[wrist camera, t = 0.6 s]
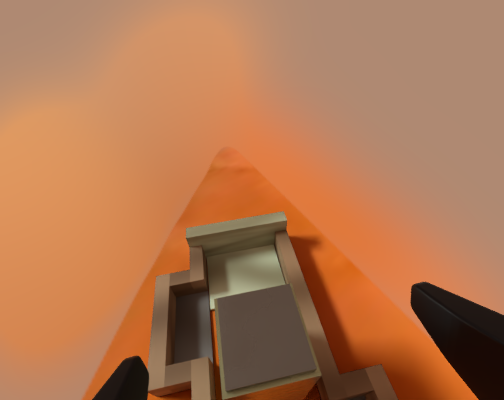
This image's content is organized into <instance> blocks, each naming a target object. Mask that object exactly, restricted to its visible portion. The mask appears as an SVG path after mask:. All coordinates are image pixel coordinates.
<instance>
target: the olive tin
mask: <svg viewBox="0 0 504 400" xmlns="http://www.w3.org/2000/svg"><path fill="white" fill-rule="evenodd" d="M214 305H215V317H216V329H217V341H218V354H219V366H220V378H221V390H222V400H304V398H305V397H306V396H307V394H308V393H309V392H310V390H311V389H312V388H313V386H314V385H315V384H316V382H317V381H318V380H319V378H320V377H321V376H322V375H321V372H320V368H319V365H318V362H317V359H316V356H315V353H314V350H313V347H312V344H311V341H310V338H309V335H308V332H307V328H306V325H305V322H304V319H303V316H302V313H301V310H300V307H299V304H298V301H297V298H296V295H295V292H294V289H293V285H292V283H289V284H284V285H279V286H274V287H270V288H265V289H260V290H255V291H250V292H245V293H240V294H235V295H230V296H226V297H221V298H216V299H214Z"/></svg>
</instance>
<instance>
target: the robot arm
mask: <svg viewBox="0 0 504 400" xmlns="http://www.w3.org/2000/svg"><path fill="white" fill-rule="evenodd" d="M411 307H412V309H413V311H414V312H415V314H416V315H417V317H418V318H419V320H420V321H421V323H422V324H423V326H424V327H425V329H426V330H427V332H428V333H429V335H430V336H431V338H432V339H433V341H434V342H435V344H436V345H437V347H438V348H439V349H440V351H441V352H442V354H443V355H444V357H445V358H446V359H447V361H448V362H449V363H450V364H451V366H452V367H453V368H454V369H455V371H456V372H457V373H458V374H459V376H460V377H461V378H462V379H463V381H464V382H465V383H466V384H467V386H468V387H469V388H470V389H471V391H472V392H473V393H474V394H475V396H476V397H477V398H478V399H479V400H504V315H502V314H499V313H497V312H495V311H493V310H490V309H488V308H486V307H483V306H481V305H479V304H476V303H474V302H472V301H469V300H467V299H465V298H463V297H460V296H458V295H455V294H453V293H451V292H448V291H446V290H444V289H442V288H439V287H437V286H435V285H432V284H430V283H427V282H421V283H417V284H414V285H413V286H412V288H411ZM148 387H149V372H148V370H147V368H146V366H145V365H144V363H143V361H142V359H141V358H140V357H139V356H133V357H129V358H126V359H124V360H123V361H122V363H121V364H120V365H119V366H118V368H117V369H116V370H115V371H114V373H113V374H112V375H111V376H110V378H109V379H108V380H107V381H106V383H105V384H104V385H103V387H102V388H101V389H100V390H99V392H98V393H97V394H96V395H95V397H94V398H93V399H92V400H147V397H148Z"/></svg>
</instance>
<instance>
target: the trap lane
mask: <svg viewBox="0 0 504 400" xmlns="http://www.w3.org/2000/svg"><path fill="white" fill-rule="evenodd" d="M286 226H287V219H286V216H285V214H284V211H283V212H277V213H271V214H266V215H260V216H254V217H248V218H243V219H237V220H231V221H225V222H219V223H214V224H208V225H202V226H196V227H191V228H186V239H187V242H188V244H189V247H190V270H186V271H181V272H176V273H171V274H165V275H160V276H156V285H155V296H154V306H153V317H152V328H151V339H150V349H149V360H148V372H149V387H148V393H150V394H152V395H154V396H157V397H159V396H163V395H168V394H172V393H176V392H180V391H184V390H188V389H192V400H216V394H215V379H214V364H213V350H212V335H211V320H210V309H211V310H215V305H214V299H216V298H221V297H226V296H230V295H235V294H240V293H245V292H250V291H255V290H260V289H265V288H270V287H274V286H279V285H284V284H285V282H286V284H289V283H292V285H293V289H294V292H295V295H296V298H297V301H298V304H299V307H300V310H301V313H302V316H303V319H304V322H305V325H306V328H307V332H308V335H309V338H310V341H311V344H312V347H313V350H314V353H315V356H316V359H317V362H318V365H319V368H320V372H321V375H322V376H321V377H320V378H319V380H318V381H317V382H316V383H317V387H318V390H319V393H320V396H321V400H398V398H397V396H396V394H395V391H394V389H393V387H392V385H391V383H390V381H389V379H388V377H387V375H386V373H385V371H384V369H383V367H382V364H379V365H375V366H371V367H367V368H363V369H359V370H355V371H351V372H347V373H343V374H339V371H338V369H337V366H336V363H335V361H334V358H333V355H332V353H331V350H330V347H329V344H328V342H327V339H326V336H325V334H324V331H323V328H322V325H321V323H320V320H319V317H318V315H317V312H316V309H315V306H314V304H313V301H312V298H311V296H310V293H309V290H308V287H307V285H306V282H305V279H304V277H303V274H302V271H301V268H300V266H299V263H298V260H297V258H296V255H295V252H294V249H293V247H292V244H291V241H290V239H289V236H288V233H287V231H286ZM274 247H275V248H274ZM275 250H276V251H275ZM276 253H277V254H276ZM277 256H278V258H277ZM206 259H207V261H206ZM278 260H279V261H278ZM279 263H280V264H279ZM280 266H281V268H280ZM207 267H208V276H207ZM281 269H282V271H281ZM282 273H283V274H282ZM283 276H284V277H283ZM284 279H285V281H284ZM208 282H209V291H208ZM209 296H210V306H209Z"/></svg>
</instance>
